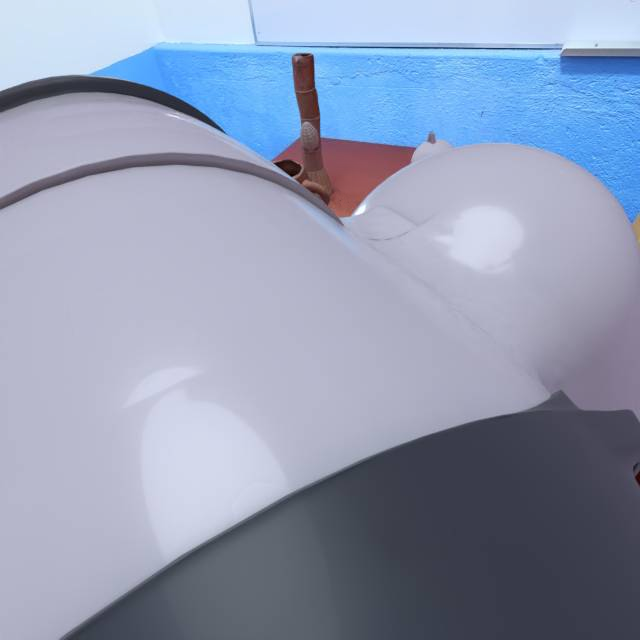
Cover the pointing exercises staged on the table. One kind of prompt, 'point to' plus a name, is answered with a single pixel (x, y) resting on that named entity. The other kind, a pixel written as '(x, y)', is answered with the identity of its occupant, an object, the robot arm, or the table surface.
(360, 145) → the table surface
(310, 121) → the vase
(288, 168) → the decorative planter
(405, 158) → the table surface
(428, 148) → the ornament
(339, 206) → the table surface
